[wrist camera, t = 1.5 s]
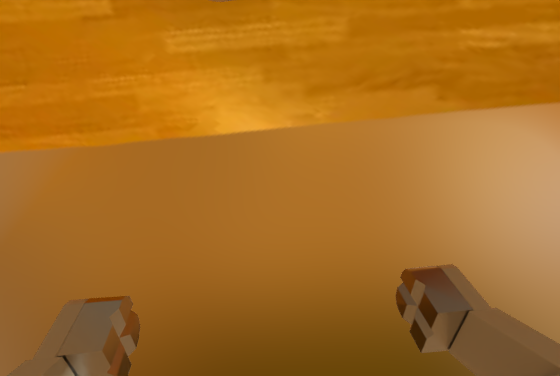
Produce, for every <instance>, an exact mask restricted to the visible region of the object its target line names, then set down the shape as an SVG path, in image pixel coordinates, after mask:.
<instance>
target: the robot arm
mask: <svg viewBox="0 0 560 376" xmlns="http://www.w3.org/2000/svg"><path fill="white" fill-rule="evenodd" d="M401 279H402V281H403V283H402V284H401V285H400V286H399V287H398V288H397V292H396V303H397V306H398V310H399V312H400V314H401V316H402V318H403V319H405V320H406V321H407V322H409V323H410V324H411V327H410V333H411V335H412V337H413V339H414V340H415V342H416V344H417V346H418V348H419V350H420V352H421V353H425V352H435V351H445V350H446V351H447V350H449V353H450V354H452V355H453V356H454V357H455V358H456V359H457V360H459V361H460V362H461V363H462V364H463V365H464V366H465V367H467V368H468V369H469V370H470V371H471V372H472V373H474V374H475V375H476V376H560V344H559V343H557V342H555V341H553V340H552V339H550V338H548V337H546V336H545V335H543V334H541V333H539V332H538V331H536V330H534V329H532V328H531V327H529V326H527V325H525V324H524V323H522V322H520V321H518V320H517V319H515V318H513V317H511V316H510V315H508V314H506V313H504V312H503V311H501V310H499V309H497V308H491V307H490V306H489V305H488V303H487V302H486V301H485V300H484V299H483V298H482V296H481V295H480V294H479V293H478V292H477V290H476V289H475V288H474V287H473V286H472V285H471V283H470V282H469V281H468V280H467V279H466V277H465V276H464V275H463V274H462V273H461V272H460V270H459V269H458V268H457V267H456V266H454V265H452V264H451V265H441V266H428V267H419V268H410V269H405V270H404V271H403V272H402V274H401ZM132 305H133V303H132V301H131V298H130V297H129V296H120V297H105V298H90V299H79V300H70V301H69V302H67V303H66V304H65V305H64V306H63V308H62V310H61V311H60V313H59V315H58V317H57V318H56V320H55V322H54V323H53V325H52V327H51V329H50V330H49V332H48V334H47V335H46V337H45V339H44V341H43V342H42V344H41V346H40V347H39V349H38V351H37V353H36V354H35V356H34V358H33V360H27V361H25V362H24V363H22V364H21V365H20V366H19V367H17V368H16V369H15V370H14V371H13V372H11V373H10V374H9V375H8V376H128V374H129V370H130V367H131V362H130V360H129V358H128V356H129V355H130V354H131V353H132V352H133V351H134V350H135V349H136V347H137V343H138V339H139V332H140V324H139V318H138V315H137V314H136V313H135V312H133V311H131V308H132Z"/></svg>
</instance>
